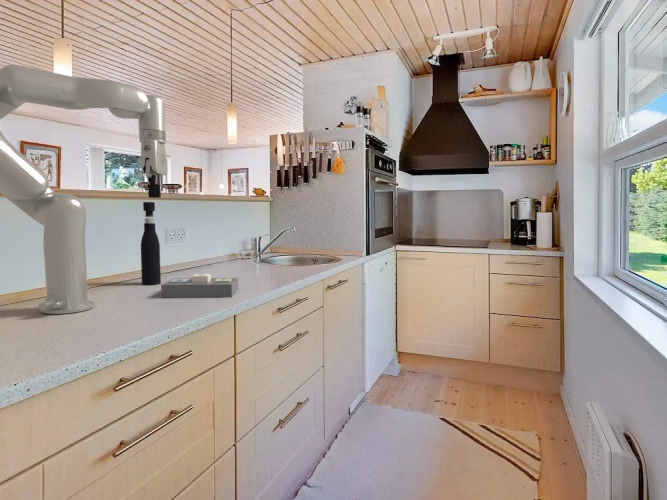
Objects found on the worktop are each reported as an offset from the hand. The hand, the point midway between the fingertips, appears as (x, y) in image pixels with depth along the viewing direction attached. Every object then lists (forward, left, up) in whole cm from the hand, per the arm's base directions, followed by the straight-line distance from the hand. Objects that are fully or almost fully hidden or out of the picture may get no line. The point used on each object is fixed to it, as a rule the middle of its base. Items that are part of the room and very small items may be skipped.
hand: (154, 197), depth 132 cm
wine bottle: (+22, +10, -31) cm, 40 cm away
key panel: (+3, -13, -31) cm, 34 cm away
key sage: (+3, -20, -30) cm, 36 cm away
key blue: (+3, -6, -30) cm, 30 cm away
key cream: (+3, -13, -28) cm, 31 cm away
